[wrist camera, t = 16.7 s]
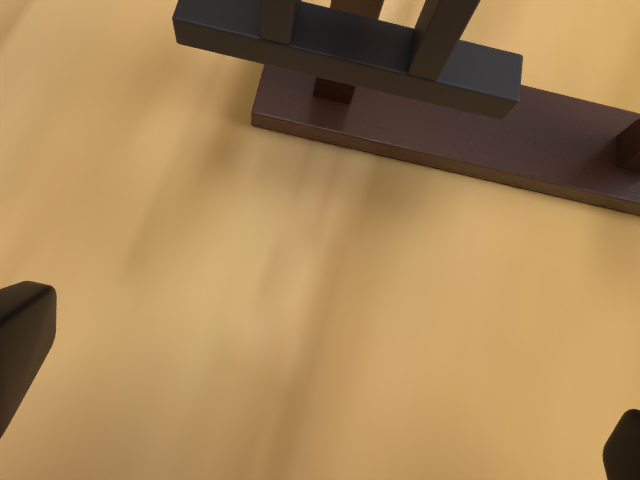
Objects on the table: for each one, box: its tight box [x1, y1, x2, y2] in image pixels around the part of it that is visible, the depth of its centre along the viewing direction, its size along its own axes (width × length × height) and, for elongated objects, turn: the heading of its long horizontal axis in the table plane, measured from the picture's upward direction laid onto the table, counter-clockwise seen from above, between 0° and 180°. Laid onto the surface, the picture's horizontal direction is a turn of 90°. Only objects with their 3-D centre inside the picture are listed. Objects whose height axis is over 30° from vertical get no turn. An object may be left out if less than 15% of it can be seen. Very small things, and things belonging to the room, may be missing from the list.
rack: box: [251, 0, 640, 215], centre depth 17 cm, size 8×19×14 cm, turn 79°
